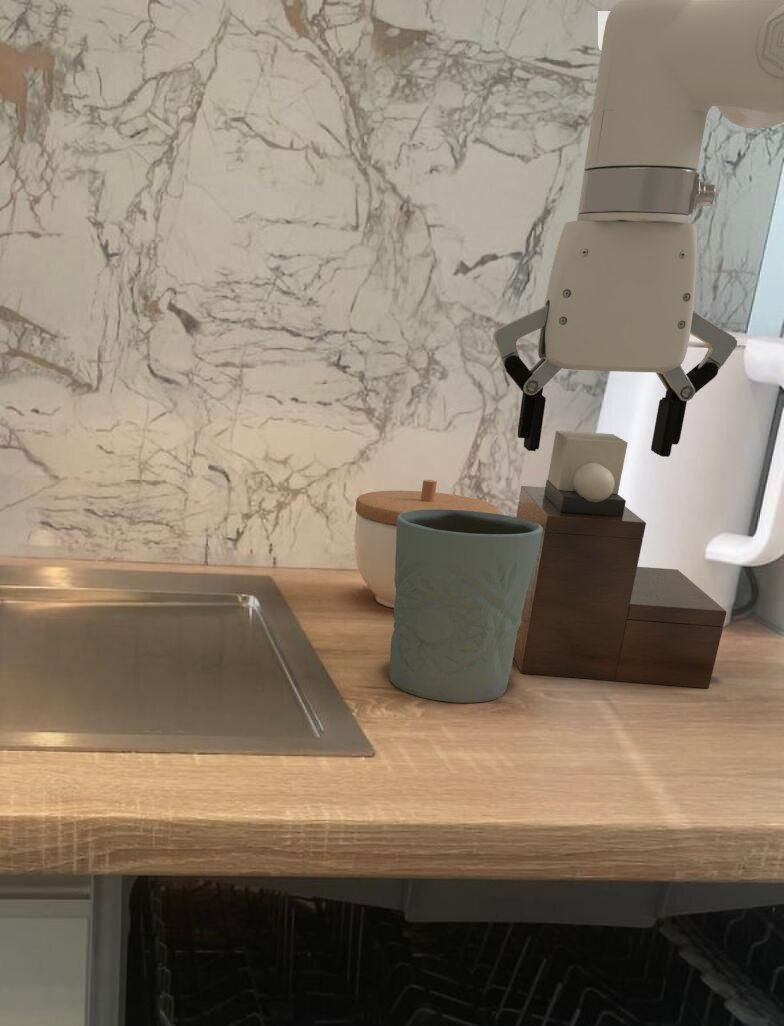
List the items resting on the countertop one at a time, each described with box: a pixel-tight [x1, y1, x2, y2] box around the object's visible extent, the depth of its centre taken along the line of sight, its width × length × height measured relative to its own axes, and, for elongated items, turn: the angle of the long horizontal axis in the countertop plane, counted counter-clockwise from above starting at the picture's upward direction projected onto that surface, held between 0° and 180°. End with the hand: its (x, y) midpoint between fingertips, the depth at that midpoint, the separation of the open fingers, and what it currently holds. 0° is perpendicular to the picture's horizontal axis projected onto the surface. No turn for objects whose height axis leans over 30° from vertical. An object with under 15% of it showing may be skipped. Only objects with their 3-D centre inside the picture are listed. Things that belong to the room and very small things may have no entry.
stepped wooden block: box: [513, 485, 728, 689], centre depth 95 cm, size 14×14×12 cm
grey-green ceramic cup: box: [389, 509, 543, 704], centre depth 86 cm, size 10×10×12 cm
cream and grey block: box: [544, 430, 629, 517], centre depth 90 cm, size 9×4×5 cm, turn 173°
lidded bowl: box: [354, 479, 500, 609], centre depth 108 cm, size 13×13×11 cm
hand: (594, 451), depth 91 cm, fingers open, 9 cm apart
